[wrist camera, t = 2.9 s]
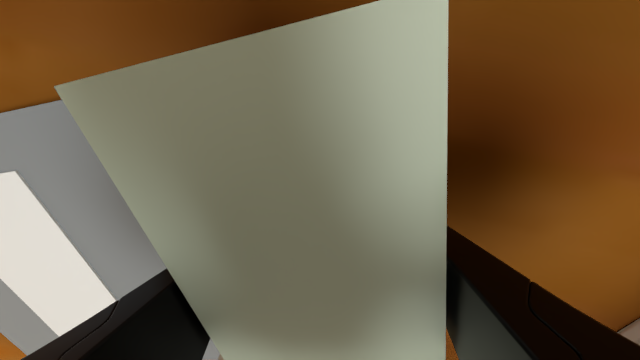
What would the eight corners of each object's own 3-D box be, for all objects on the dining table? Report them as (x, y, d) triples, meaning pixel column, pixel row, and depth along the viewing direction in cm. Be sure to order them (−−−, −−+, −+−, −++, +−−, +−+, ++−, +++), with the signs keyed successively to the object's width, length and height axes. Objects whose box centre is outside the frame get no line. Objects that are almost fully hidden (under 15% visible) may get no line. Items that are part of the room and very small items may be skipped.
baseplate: (236, 345, 19) (229, 361, 18) (44, 346, 22) (29, 360, 21) (99, 92, 11) (74, 96, 10) (-167, 151, 14) (-206, 158, 13)
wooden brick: (416, 314, 12) (445, 425, 8) (285, 319, 13) (260, 418, 10) (397, 18, 7) (447, -18, 3) (185, 71, 8) (53, 86, 4)
